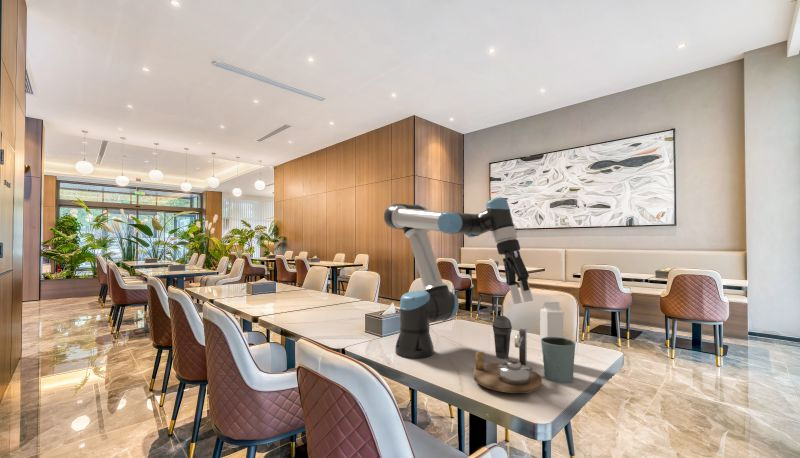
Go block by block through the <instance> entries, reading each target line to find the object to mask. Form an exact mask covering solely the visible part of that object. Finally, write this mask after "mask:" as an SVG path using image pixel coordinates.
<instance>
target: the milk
mask: <svg viewBox="0 0 800 458" xmlns="http://www.w3.org/2000/svg"><path fill="white" fill-rule="evenodd" d="M564 332H565V331H564V311H563V309H562V308H561V306H560V302H559V301H543V306H542V307H541V308H539V333H540V334H539V337H540V338H539V343H540V344H539V346H540V347H539V348H540V350H539V352H540V353H539V354H540V355H539V357H540V361H541V362H543V353H542V344H541V339H542V338H545V337H561V338H565V337H564Z"/></svg>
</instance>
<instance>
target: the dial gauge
mask: <svg viewBox="0 0 800 458" xmlns="http://www.w3.org/2000/svg"><path fill="white" fill-rule="evenodd" d="M527 330H528V329H526V328H525V329H524V328H520V329H519V330H518V331H519V332H518V334H515V336H514V348H517V349H518V351H519V352H518V354H519V355H518V357H519V358H518V359H519V362H520V363H521V364H522V365H525V366H527V365H528V364H527V361H528V360H527V359H528V358H527V357H528V356H527V355H528V354H527V353H528V352H527V351H528V349H527V348H528V347H527V345H528V343H527V342H528V341H527V340H528V339H527V336H528V335H527V334H528V333H527ZM527 367H529V368H530V370H533V367H531V366H527Z"/></svg>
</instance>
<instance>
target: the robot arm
mask: <svg viewBox="0 0 800 458" xmlns="http://www.w3.org/2000/svg"><path fill="white" fill-rule="evenodd" d="M485 206H486V210H483V211H481V212H479V213H462V212H454V211H441V210H439V211H438V210H430V209H427V207H425V206H422V205H419V204H405V203H392V204H391V205H388V206H387V207H386V209H385V210H384V213H383V220H384V223H385V224H386V225H387V227H389V228H391V229H393V230H403V233H404V236H405V237H406V238H408V239H409V242H410V246H411V248H412V249H411V250H412V254H413V256H414V258H415V259H414V260H415V263H416V266H417V270H418V273H419V276H420V280H421V283H422V287H423V289H422V290H417V291H414V290H413V291H412V290H411V291H409V292H405V293H404V294H402V295H401V297H400V304H399V313H400V315H399V334H398V337H397V340H396V344H395V346H394V347H395V350H394V351H395V355H396V354H397V355H398V356H400V357H404V358H409V359H422V358H423V359H424V358H427V357H431V356H432V355H434V352H435V351H434V350H435V349H434V347H435V346H434V344H433V340H432V337H431V334H430V324H432V323H438V322H442V321H443V322H445V321H447V320H450V319H453V318H454V317H455V316H456V315H457V313H458V311H459V299H458V297H457V294H455V293H454V292H453V291H451V290H450V289H449V286H448V284H446V283H444V282H443V279H442V276H441V273H440V270H439V266H438V263H437V260H436V256H435V254H434V251H433V248H432V243H431V241H430V237H429V234H428V232H429V231H433V232H441V233H443V234H449V235H454V234H455V235H458V234H459V235H462V234H463V235H464V236H467V237H468V238H474V237H479V236H481V235H483V234H485V233H487V232H490V231H492V233H493V235H492V236H493V239H494V241H495V243H496V249H497V254H499V255H500V256H501V255H504V258H502V262H503V267H504V273H505V274H504V275H505V279H506V285H508V287H509V291H510V294H511V299H512V302H513V305H516V304H522V302H524V303H528V302H532V301H534V298H533V295H532V292H531V291H532V290H531V287H530V282H529V277H530V275H529V272H528V270H527V267H526V265H525V264H524V261H523V259H522V257H521V253H520V250H521V246H520V242H519V240H518V239H517V238H518V236H517V235H518V234H517V233H518V230H517V229H516V227H515V225H514V221H513V217H512V214H511V213H512V212H511V208H510V205H509V203H508V200H507V199H506V198H504V197H498V198H493V199H491V200H488V202H486V205H485ZM516 276H517V279H516ZM518 285H519V286H518ZM519 288H520V290H519ZM520 292H521V294H520ZM521 295H522V299H521ZM522 300H523V301H522Z"/></svg>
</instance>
